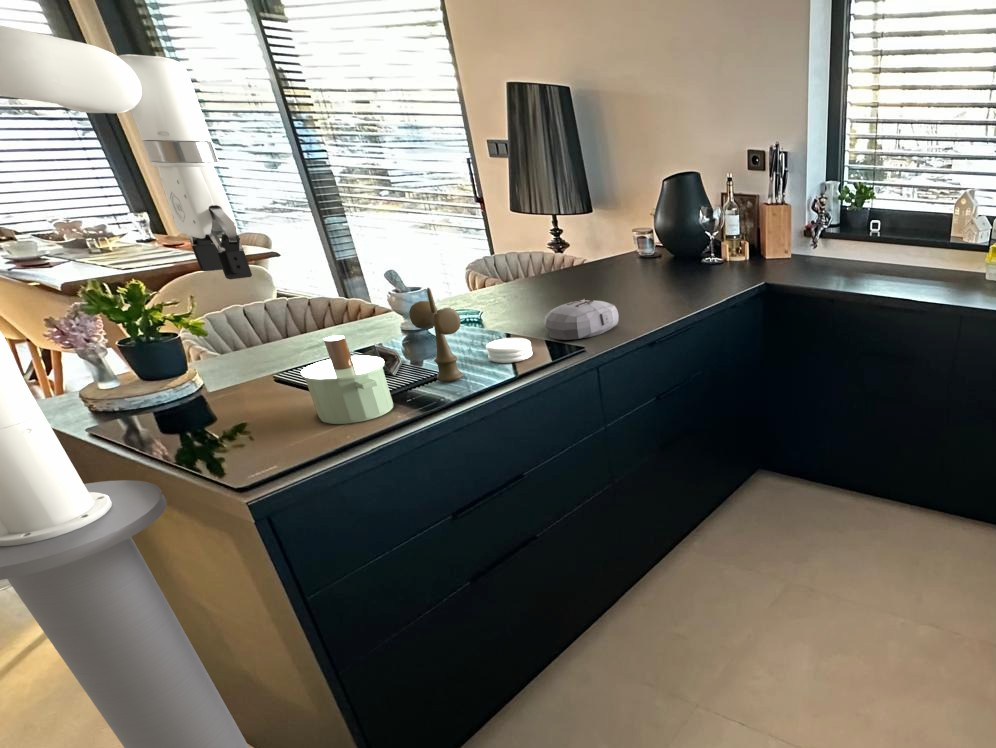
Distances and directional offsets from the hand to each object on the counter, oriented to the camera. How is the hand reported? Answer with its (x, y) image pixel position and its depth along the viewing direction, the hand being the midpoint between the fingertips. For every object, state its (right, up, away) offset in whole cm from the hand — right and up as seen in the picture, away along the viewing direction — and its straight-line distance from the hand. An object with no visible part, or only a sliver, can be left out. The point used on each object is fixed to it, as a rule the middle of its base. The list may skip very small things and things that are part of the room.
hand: (226, 274), depth 99 cm
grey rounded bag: (+31, +4, +72) cm, 78 cm away
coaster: (+21, -6, +52) cm, 56 cm away
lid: (+6, -13, +18) cm, 23 cm away
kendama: (+15, -13, +38) cm, 42 cm away
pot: (+6, -20, +21) cm, 30 cm away
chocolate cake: (-4, -10, +41) cm, 43 cm away
